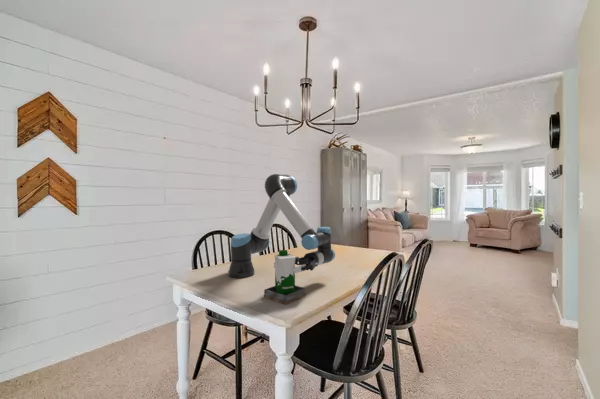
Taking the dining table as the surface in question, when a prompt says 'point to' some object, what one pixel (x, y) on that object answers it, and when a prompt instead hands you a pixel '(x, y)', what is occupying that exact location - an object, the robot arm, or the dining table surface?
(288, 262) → the soya milk
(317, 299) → the dining table surface
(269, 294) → the dark gray tray
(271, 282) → the dining table surface
